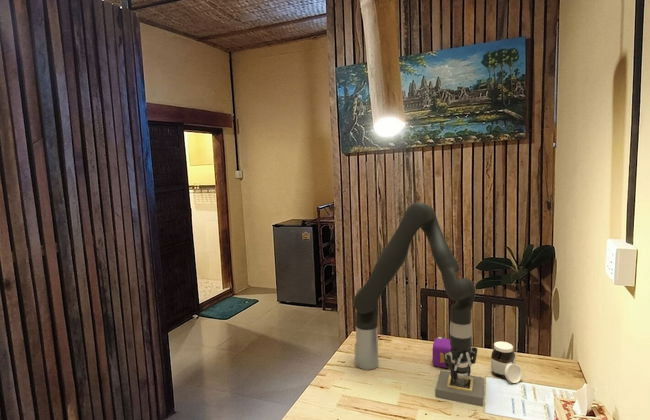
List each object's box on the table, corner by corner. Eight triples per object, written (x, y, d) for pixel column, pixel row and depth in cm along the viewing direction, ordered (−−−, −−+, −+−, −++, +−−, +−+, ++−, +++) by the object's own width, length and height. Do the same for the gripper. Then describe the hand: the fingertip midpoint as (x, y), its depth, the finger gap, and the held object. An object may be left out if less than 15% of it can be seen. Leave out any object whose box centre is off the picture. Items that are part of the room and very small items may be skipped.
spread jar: (498, 365, 164) (498, 338, 162) (527, 374, 156) (528, 346, 154) (485, 376, 156) (486, 348, 154) (515, 387, 147) (516, 357, 146)
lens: (452, 383, 145) (452, 362, 144) (453, 376, 150) (453, 355, 149) (467, 386, 143) (468, 364, 142) (468, 378, 148) (468, 357, 147)
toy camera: (468, 371, 160) (468, 348, 158) (433, 369, 162) (433, 346, 161) (464, 358, 170) (464, 336, 169) (431, 356, 173) (431, 334, 172)
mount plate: (435, 397, 143) (435, 387, 143) (440, 377, 156) (440, 369, 156) (482, 406, 137) (482, 396, 137) (484, 385, 150) (484, 376, 149)
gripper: (451, 341, 138) (451, 386, 140) (483, 333, 143) (483, 377, 145) (437, 333, 145) (438, 376, 147) (468, 325, 150) (468, 367, 152)
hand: (460, 376), depth 146 cm, fingers closed on lens, 5 cm apart
